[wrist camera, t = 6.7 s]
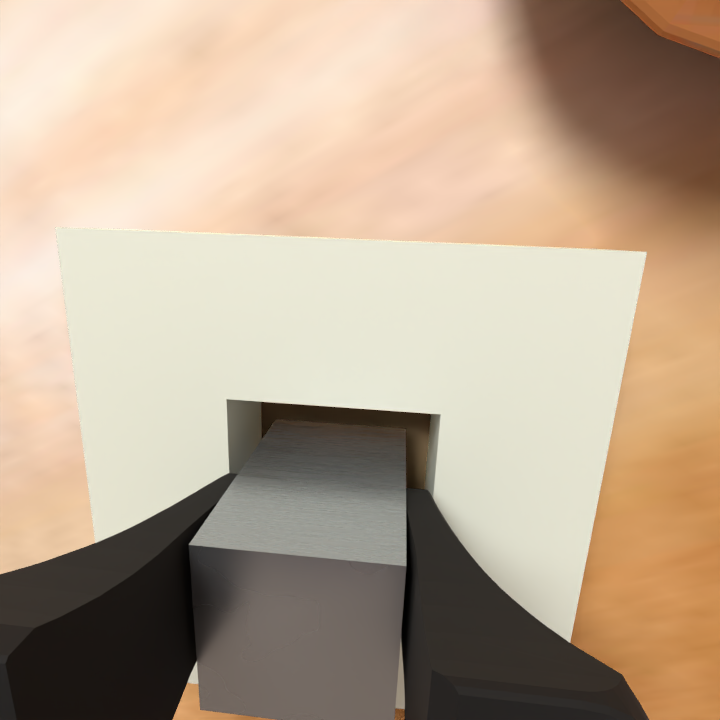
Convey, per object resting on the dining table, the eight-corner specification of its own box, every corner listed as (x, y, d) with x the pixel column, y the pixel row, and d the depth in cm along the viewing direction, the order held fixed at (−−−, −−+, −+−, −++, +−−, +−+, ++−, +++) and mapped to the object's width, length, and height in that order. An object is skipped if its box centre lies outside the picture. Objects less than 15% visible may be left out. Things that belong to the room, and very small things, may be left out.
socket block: (593, 248, 13) (647, 251, 10) (527, 643, 17) (553, 727, 14) (125, 229, 14) (54, 227, 11) (159, 603, 18) (112, 673, 15)
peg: (405, 428, 14) (406, 565, 8) (397, 541, 15) (393, 734, 9) (276, 418, 14) (188, 545, 8) (277, 530, 15) (199, 709, 10)
